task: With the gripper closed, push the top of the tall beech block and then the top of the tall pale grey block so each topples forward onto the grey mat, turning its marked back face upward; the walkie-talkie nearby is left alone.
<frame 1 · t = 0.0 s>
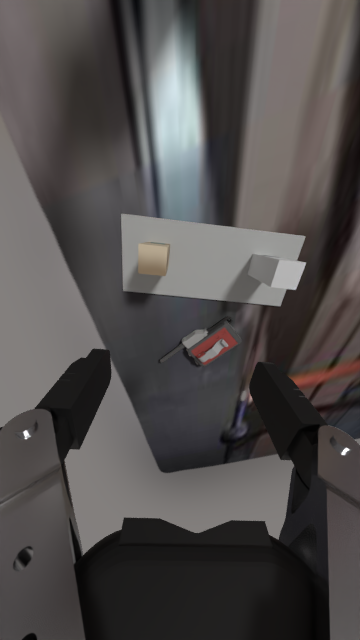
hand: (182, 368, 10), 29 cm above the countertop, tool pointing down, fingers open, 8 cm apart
beech block: (158, 254, 35), resting on mat
walkie-talkie: (199, 344, 45), on the countertop
mat: (209, 264, 36), on the countertop
grey block: (259, 265, 36), resting on mat
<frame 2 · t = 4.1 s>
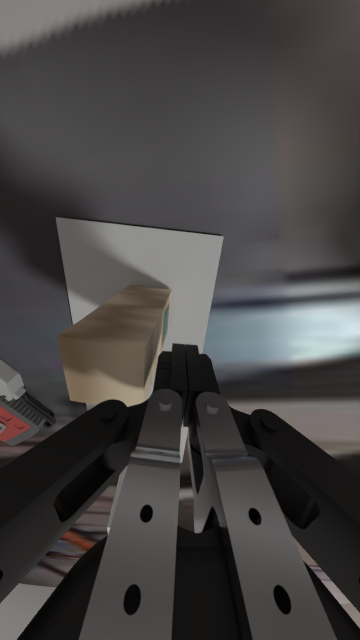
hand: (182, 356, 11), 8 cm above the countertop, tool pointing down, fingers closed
beech block: (150, 306, 18), resting on mat, tilted 5°
mat: (140, 379, 23), on the countertop
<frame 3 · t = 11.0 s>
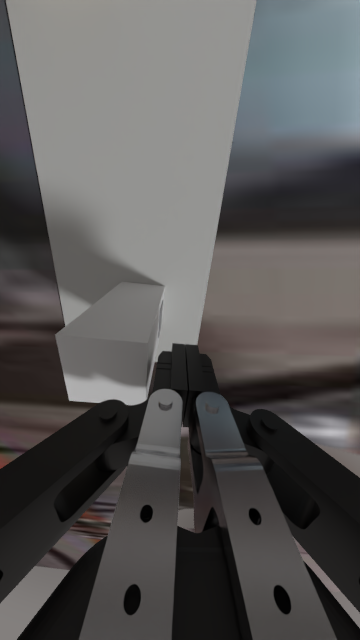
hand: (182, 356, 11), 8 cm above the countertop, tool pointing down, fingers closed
mat: (133, 178, 14), on the countertop
grey block: (143, 303, 18), resting on mat, touching gripper
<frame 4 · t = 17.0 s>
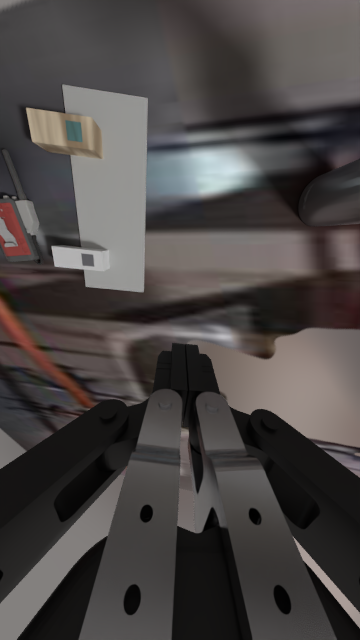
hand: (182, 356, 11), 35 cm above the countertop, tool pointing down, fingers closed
beech block: (98, 140, 31), point 2 cm above the countertop, tilted 90°, touching mat
walkie-talkie: (18, 215, 38), on the countertop
mat: (111, 209, 38), on the countertop
grey block: (106, 260, 40), point 2 cm above the countertop, tilted 90°, touching mat
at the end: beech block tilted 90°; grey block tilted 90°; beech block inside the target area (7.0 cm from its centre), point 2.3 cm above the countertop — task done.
